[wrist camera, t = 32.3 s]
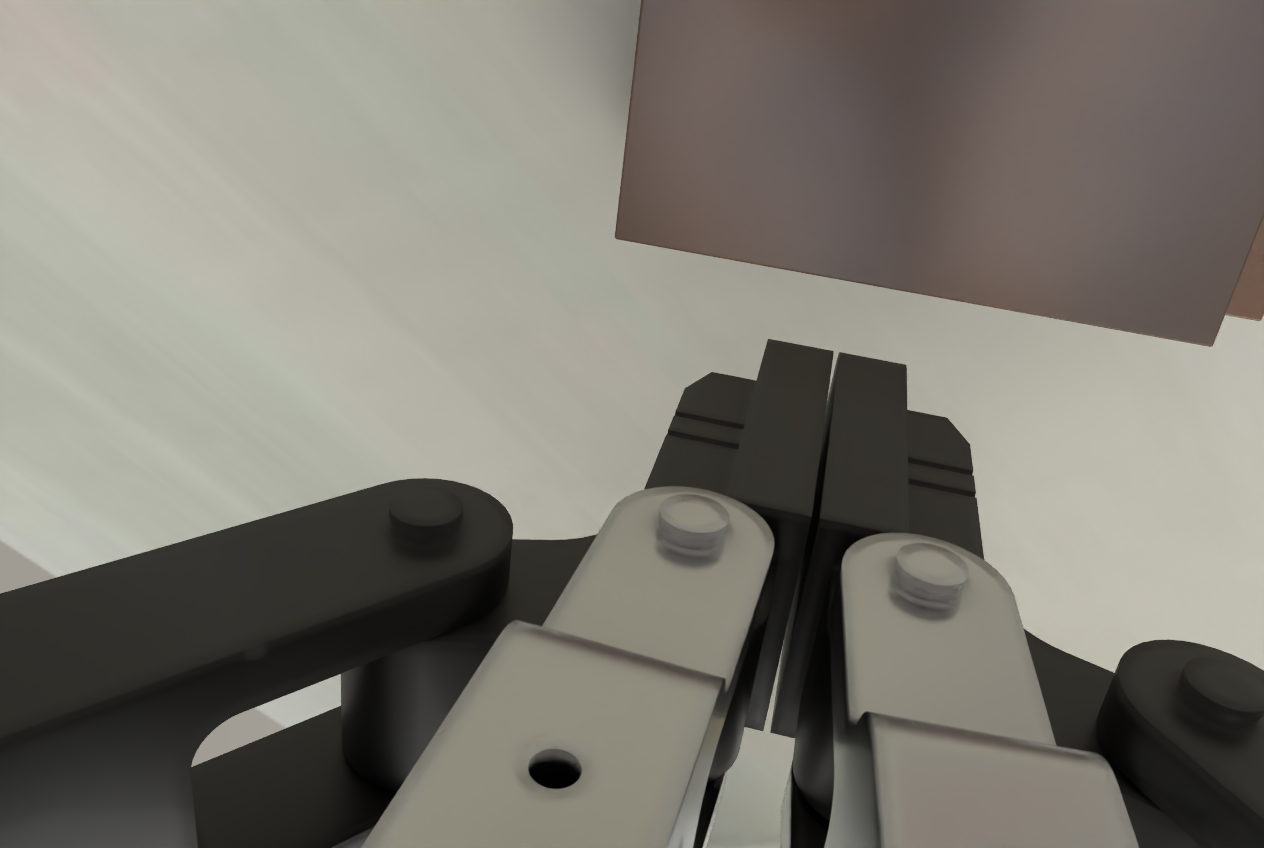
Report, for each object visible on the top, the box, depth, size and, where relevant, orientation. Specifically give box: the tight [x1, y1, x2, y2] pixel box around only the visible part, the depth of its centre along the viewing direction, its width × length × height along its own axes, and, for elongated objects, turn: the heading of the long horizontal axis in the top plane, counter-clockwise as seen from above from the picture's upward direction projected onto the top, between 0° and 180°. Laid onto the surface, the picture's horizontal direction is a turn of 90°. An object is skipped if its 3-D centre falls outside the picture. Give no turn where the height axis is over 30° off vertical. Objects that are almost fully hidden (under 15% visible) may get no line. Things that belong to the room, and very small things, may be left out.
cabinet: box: [615, 0, 1264, 347], centre depth 30 cm, size 16×13×8 cm
